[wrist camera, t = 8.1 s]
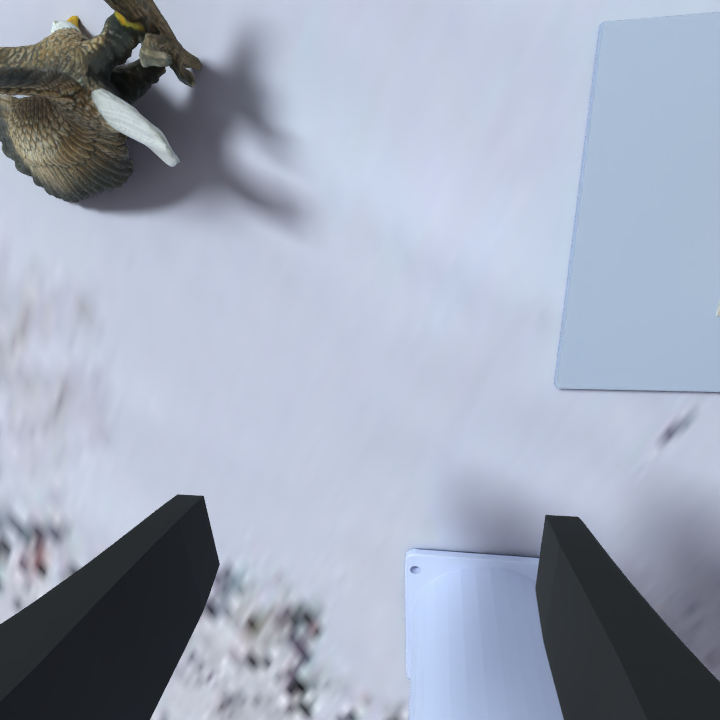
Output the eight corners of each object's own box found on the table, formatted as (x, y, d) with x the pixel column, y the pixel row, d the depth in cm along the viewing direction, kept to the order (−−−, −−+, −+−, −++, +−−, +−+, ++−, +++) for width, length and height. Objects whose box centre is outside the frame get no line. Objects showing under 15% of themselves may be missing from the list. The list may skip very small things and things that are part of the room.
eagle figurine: (94, -168, 13) (-174, -31, 14) (53, -126, 9) (-326, 66, 10) (229, 98, 20) (36, 183, 20) (243, 198, 15) (-3, 301, 16)
